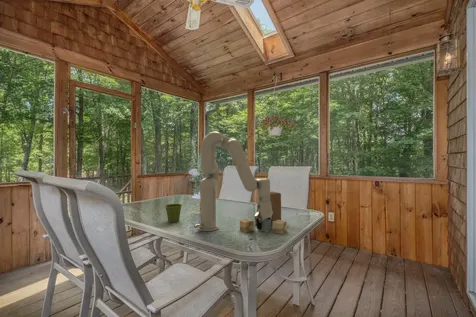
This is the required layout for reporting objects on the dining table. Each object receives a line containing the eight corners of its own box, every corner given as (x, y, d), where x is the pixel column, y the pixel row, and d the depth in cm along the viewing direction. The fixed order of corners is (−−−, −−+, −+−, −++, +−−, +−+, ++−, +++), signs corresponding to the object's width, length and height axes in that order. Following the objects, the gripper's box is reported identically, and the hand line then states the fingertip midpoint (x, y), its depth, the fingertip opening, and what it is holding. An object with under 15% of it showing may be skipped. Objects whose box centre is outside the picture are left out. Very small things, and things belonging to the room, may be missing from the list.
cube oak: (245, 232, 136) (245, 222, 136) (239, 230, 141) (239, 220, 141) (253, 231, 139) (253, 220, 139) (248, 228, 144) (248, 218, 144)
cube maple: (281, 234, 133) (281, 223, 133) (272, 232, 136) (272, 221, 136) (286, 231, 137) (286, 221, 137) (277, 229, 141) (277, 219, 141)
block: (281, 223, 156) (281, 192, 156) (269, 225, 151) (268, 194, 152) (273, 219, 165) (273, 191, 165) (261, 221, 160) (260, 192, 161)
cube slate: (266, 232, 137) (266, 221, 137) (257, 230, 140) (257, 220, 140) (271, 229, 142) (270, 219, 142) (262, 228, 145) (262, 218, 145)
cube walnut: (264, 226, 148) (264, 217, 148) (255, 226, 150) (255, 216, 150) (266, 224, 153) (266, 215, 153) (257, 223, 155) (257, 214, 155)
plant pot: (161, 223, 159) (161, 206, 159) (171, 218, 170) (170, 203, 170) (176, 224, 156) (176, 207, 156) (185, 219, 167) (185, 204, 167)
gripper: (259, 201, 132) (260, 231, 132) (277, 197, 145) (277, 225, 145) (249, 200, 137) (250, 229, 137) (267, 196, 150) (267, 223, 150)
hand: (264, 227), depth 141 cm, fingers open, 9 cm apart
